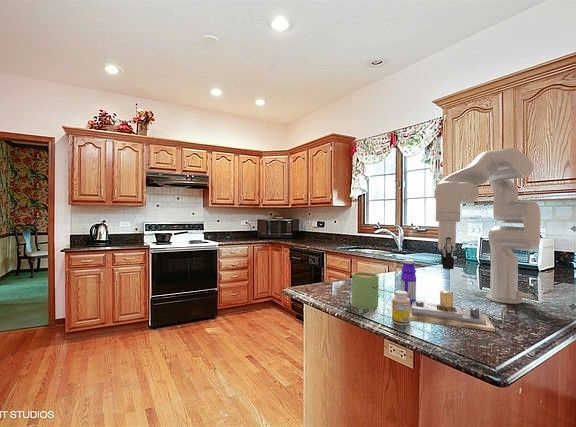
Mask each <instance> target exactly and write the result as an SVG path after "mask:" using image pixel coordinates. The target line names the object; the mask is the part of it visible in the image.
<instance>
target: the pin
mask: <svg viewBox="0 0 576 427" xmlns="http://www.w3.org/2000/svg"><path fill="white" fill-rule="evenodd" d="M439 304H440V310H443V311H451V312H453V306H454V292H453V291H449V290H441V291H439Z"/></svg>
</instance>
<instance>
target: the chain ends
mask: <svg viewBox="0 0 576 427" xmlns="http://www.w3.org/2000/svg"><path fill="white" fill-rule="evenodd" d="M411 306H412V315H419V316H426V317H433V318H440V319H448V320H455V321H462V322H470V323H477V324H484V325H486V320H485V319H484V317H483V315H484V314H482V312H480V308H477V307H470V310H469V311H468V310H462V308H461V306H455V305H453V312H451V311H443V310H440V303H439V304H438V303H430V302H424V301H417V300H416V302H415V301H413V302H412V304H411Z"/></svg>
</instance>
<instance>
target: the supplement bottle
mask: <svg viewBox="0 0 576 427" xmlns="http://www.w3.org/2000/svg"><path fill="white" fill-rule="evenodd" d="M407 297H408V293H407V292H405V291H401V290H395V291H394V296H393V297H392V300H391V301H392V302H391V304H392V305H391V307H392V308H391V313H392V314H391V317H392V318H391V319H392V322H393V324H396V325H398V326H408V325H410V323H411V319H410V306H411V304H410V299H409V298H407Z"/></svg>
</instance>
